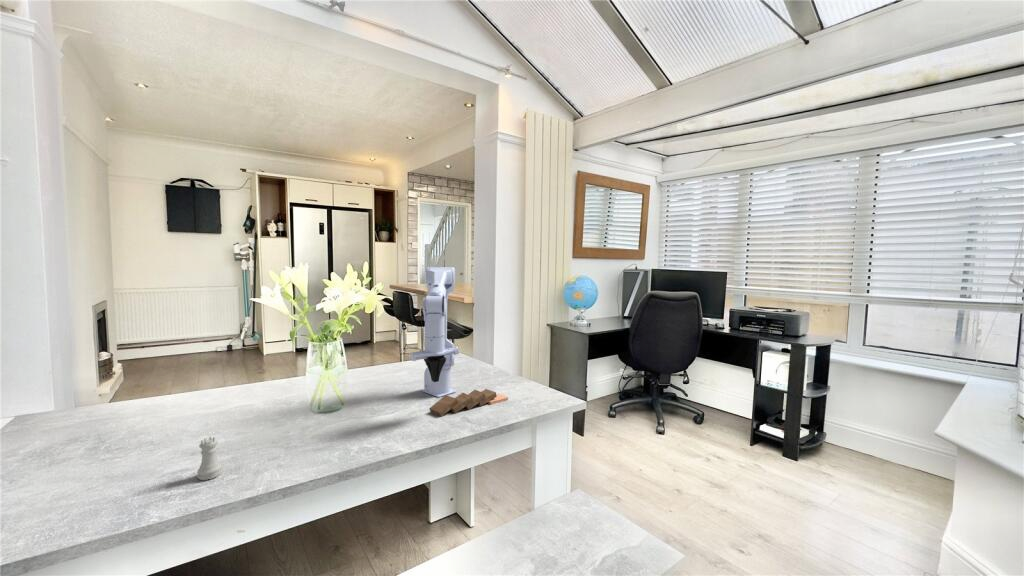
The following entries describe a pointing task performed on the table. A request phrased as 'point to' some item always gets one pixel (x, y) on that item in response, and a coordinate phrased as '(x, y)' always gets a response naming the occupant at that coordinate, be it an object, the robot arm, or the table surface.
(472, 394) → the domino
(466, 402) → the domino
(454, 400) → the domino
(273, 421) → the table surface
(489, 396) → the domino
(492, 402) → the domino
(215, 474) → the rook chess piece
